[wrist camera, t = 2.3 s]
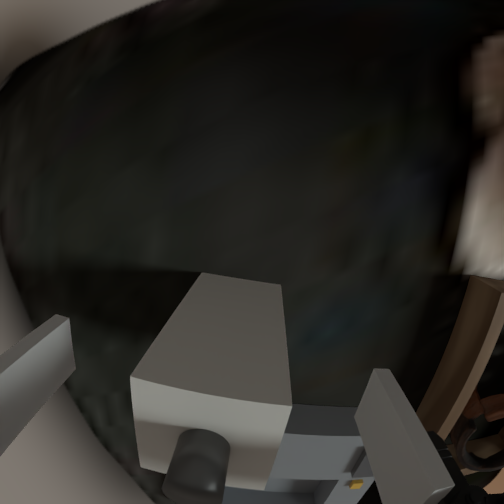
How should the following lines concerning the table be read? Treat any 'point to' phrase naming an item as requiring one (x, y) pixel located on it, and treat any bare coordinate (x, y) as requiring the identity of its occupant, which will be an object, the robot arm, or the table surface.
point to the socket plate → (314, 461)
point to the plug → (214, 390)
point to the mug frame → (466, 366)
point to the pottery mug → (465, 427)
